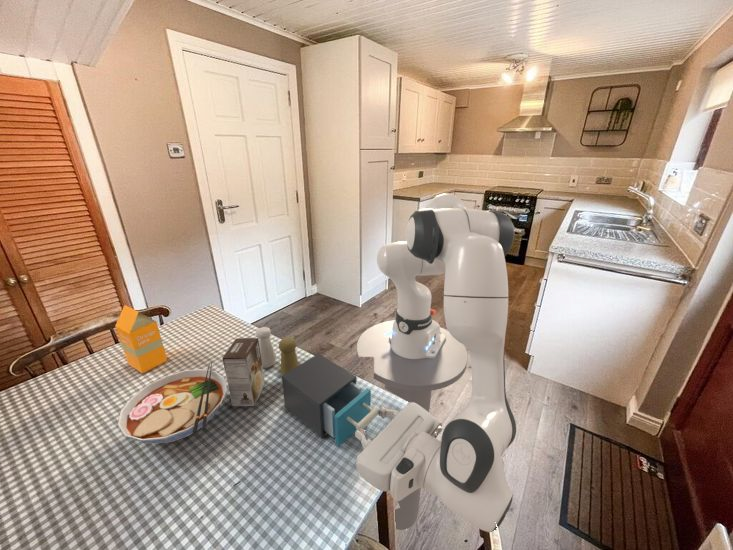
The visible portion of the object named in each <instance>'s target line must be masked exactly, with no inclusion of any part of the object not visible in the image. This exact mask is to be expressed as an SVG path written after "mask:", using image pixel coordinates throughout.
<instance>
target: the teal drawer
mask: <svg viewBox="0 0 733 550" xmlns="http://www.w3.org/2000/svg"><path fill="white" fill-rule="evenodd" d="M371 394H372V390H371V389H370V388H369V387H366V388H365V389H364V390H362V387H361V386H360V385H358V384H357V383H356V384H355V383H353V382H351V383H350V384H349V385H347V386H346V387H345V388H344V389H342V390H341V391H340V392H338V393H337V394H336V395H334V396H333V397H332V398H331V399H329V400H328V401H327V402H325V403H324V404H323V405H322V413H323V430H324V431H326V432H327V434H328V436H330V437H332V438H334V444H335V445H336V446H337V447H338V448H339V447H341V446H342V445H343V443H345V442H346V441H347V440H348V439H349V438H350V437H351V436H352V435H353V434H355V432H356V431H357V430H358V429H359V428H360V427H361V428H362V429H364V430H365V428H366V427H367V426H368V425H369V424H370V423H371V422H372V421H373V420H374V419H375V418H376V417H377V416H379V415H378V414H379V411H378V410H379V408H377V407H372V406H371V405H372V404H371V401H372V400H371V398H372V397H371V396H372V395H371Z"/></svg>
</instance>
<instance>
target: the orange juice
mask: <svg viewBox="0 0 733 550" xmlns="http://www.w3.org/2000/svg"><path fill="white" fill-rule="evenodd" d="M157 322H158V321H156V320H154V319H153V318H151V317H149V316H147V315H145V314H144V313H142V312H141V311H138V310H137V309H134V308H132V307H130V306H128V305H126V304H124V305H123V307H122V309H121V312H120V314H119V316H118V318H117V321H116V323H115V325H114V327H115V330H116V333H117V335H118V338H119V341H120V344H121V348H122V350H123V353H124V355H125V358H126V362H127V364H128V365H129V366H130V367H132V368H133V369H135V370H137V371H138V372H139V373H141V374H145V373H146V372H148V371H150V370H152V369H155V368H156V367H158V366H160V365H162V364H164V363H165V362H167V361H168V357H167V353H166V351H165V348H164V343H163V339H162V337H161V333H160V330H159V326H158V323H157Z"/></svg>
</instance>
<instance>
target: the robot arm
mask: <svg viewBox="0 0 733 550" xmlns="http://www.w3.org/2000/svg"><path fill="white" fill-rule="evenodd" d="M515 235H516V233H515V226H514V223H513V222H512V220H511V218H510V217H509V215H507V214H505V213H503V212H500V211H497V210H492V209H488V210H483V209H476V208H467V206H466V204H465V202H464V201H463V200H462V198H460V197H459V196H457V195H455V194H452V193H441V194H439V195H436V196H434V197H433V198H432V199H431V200H430V201H429V202H428V203H427V204H426V205H425V207H424V208H420V209H417V210H414V211H413V213H412V214H411V215H410V217H409V219H408V222H407V223H406V228H405V235H404V236H405V240H404V241H394V242H389V243H385V244H383V245H381V247H380V248H379V250H378V252H377V255H376V263H377V266H378V269H379V270H380V272H381V273H382V274H383V275H385V276H386V277H388V278H389V279H390V281H391V282H392V283H393V284H394V287H395V289H396V294H397V309H396V311H395V317H394V318H395V319H394V320H395V321H394V322H393V329H392V330H391V331H389V332H387V333H385V336H387V335H389V334H391V333H392V335H390V336H389V340H390V342H391V349H392V350H393V352H394V353H396V354H397V355H399V356H401V357H403V358H407V359H422V358H429V359H433V358H435V357H436V355H437V353H438V351H439V349H440V348H441V346H442V344H443V342H444V341H445V339H446V336H445V335H444V334H443V333H442V332H440V327H441V325H440V324H439V323H438V321H436V320H434V318H433V317H432V316H435V315H436V313H437V310H436V309H432V308H431V306H432V292H431V290H430V289H429V287H427V286H426V285H424V284H423V283H421V282H418V281H417V280H416V278H417V277H420V276H440V275H443V274H444V283H443V316H444V323H445V326H446V330H447V331H449V333H450V334H451V335H452V336H453V337H454V338H455V339H456V340H457V341H459V342H460V343H462V344H463V345H464V346H465V348H466V350H468V354H469V356H470V367H471V387H472V391H471V397H470V399H469V401H468V403H467V404H466V406H465V407H464V408H463V409H462V410H461V411H460V412H458V413H457V414H456V415H455V416H454V417H452V418H451V419H450V420H449V421H448V422H447V424H446V425H445V426H444V428H443V424H442V422H441V420H440V419H438V418H437V417H435V416H433V415H432V413H430V411H429V412H428V411H426V410H425V409H424V408H422V407H421V406H419V405H418V404H416V403H414V402H407V404H406V405H405V406H404V407H403V408H402V409H401V410H400V411H399V410H398V409H394V408H393V409H391V408H386V407H385V406H384V405H381V406H380V408H378V411H379V414H378V415H377V416H379V417H380V418H382V419H385V418H390V419H391V420H390V422H389V423H388V424H387V425H386V426H385V427H384V428H383V429H382V430H381V431H380V432H379V433H378V434H377V435H376V436H375V437H374V438H373V440H371V439H370V438H367V434H366V433H367V430H365V428H364V429H362V428H361V427H360V428H359V429H358V430H356V431H355V432H354V435H355V438H357V439H358V440H359V441H360V443H361V445H362V449H363V450H362V451H360V453H359V454H358V455H357V457H356V461H355V462H356V463H355V464H356V473H357V474H358V476H359V477H361V478H362V479H363V481H365V482H367V483H368V484H369V485H371V486H372V487H374V488H375V489H377V490H379V491H381V492H389V493H390V494H389V495H390V497H391V498H392V500H394V501H395V502H398V501H400V500H402V499H403V498H405V497H406V496H408V495H409V494H411V493H412V492H414V491H415V490H417V489H419V488H420V487H421V489H423V490H424V491H426V492H427V493H429V494H432V495H434V496H435V497H437V498H438V499H439V500H440V501H441V502H442V503H443V505H444V506H445V507H447V508H448V509H449V510H450V511H451V512H453V513H454V514H455V515H457V516H458V517H460V518H461V519H462V520H464V521H465V522H467V523H468V524H470V525H471V526H473V527H475V528H477V529H478V530H481V531H483V532H487V533H493V532H494V530H495V531H497V529H496V528H497V527H496V524H497V526H498V528H500V526H501V525H502V523H503V522H504V520H505V518H506V515H507V514H508V512H509V510H510V509H511V508H510V507H511V506H512V502H513V498H514V497H513V496H514V495H513V491H511V489H510V487H509V484H508V481H507V478H506V474H505V473H506V472H505V467H504V456H503V455H504V453H506V452H505V451H506V450H507V449H508V448H509V447H510V446H511V445H512V443H513V442H514V441H515V438H516V435H517V423H516V419H515V417H514V414H513V412H512V410H511V407H510V404H509V401H508V398H507V392H506V369H505V368H506V367H505V366H506V365H505V343H506V333H507V332H506V331H507V326H508V314H509V280H508V279H509V278H508V270H507V264H506V258H505V257H506V256H507V255H508V253H510V251H511V249H512V247H513V245H514V241H515ZM441 433H442V434H441ZM440 434H441V439H440V440H439V439H437V438H438V436H439V435H440ZM495 522H496V523H495Z"/></svg>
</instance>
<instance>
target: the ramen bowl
mask: <svg viewBox="0 0 733 550" xmlns="http://www.w3.org/2000/svg"><path fill="white" fill-rule="evenodd" d="M212 365H213V362H212V361H211V362H209V363H208V366H207V369H204V368H197V369H185V370H181V371H179V372H175V373H172V374H168V375H165V376H163V377H161V378H160V379H157V380H155V381H152V382H150V383H149V384H147V385H145V386H144V387H143V388H142V389H140V390H139V391H138V392H137V393H135V394H134V395H133V396H131V398H130V399H129V400H128V401H127V402H126V404H125V405H124V406H123V407H122V409H121V410H120V413H119V417H118V422H117V426H118V428H119V429H120V430H121V432H122V433H123V434H122V435H124V436H125V437H127V438H128V439H130V440H135V441H138V442H142V443H146V444H150V445H154V444H166V443H174V442H177V441H178V440H181V439H184V438H186V437H189V436H191V435H192V434H193V435H194V434H197V433H198V430H200V429H201V431H202V432H205V431H206V430H207V423H209V421H210V420H211V419H212V418H213V417H214V416H215V414H216V413H217V412H218V411H219V409H220V408H221V406H222V403H223V400H224V398H225V395H226V393H227V391H228V385H227V381H226V378H225V377H224V376H223V375H221V374H220V373H219V372H217V371H215V370H212V367H213V366H212Z"/></svg>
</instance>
